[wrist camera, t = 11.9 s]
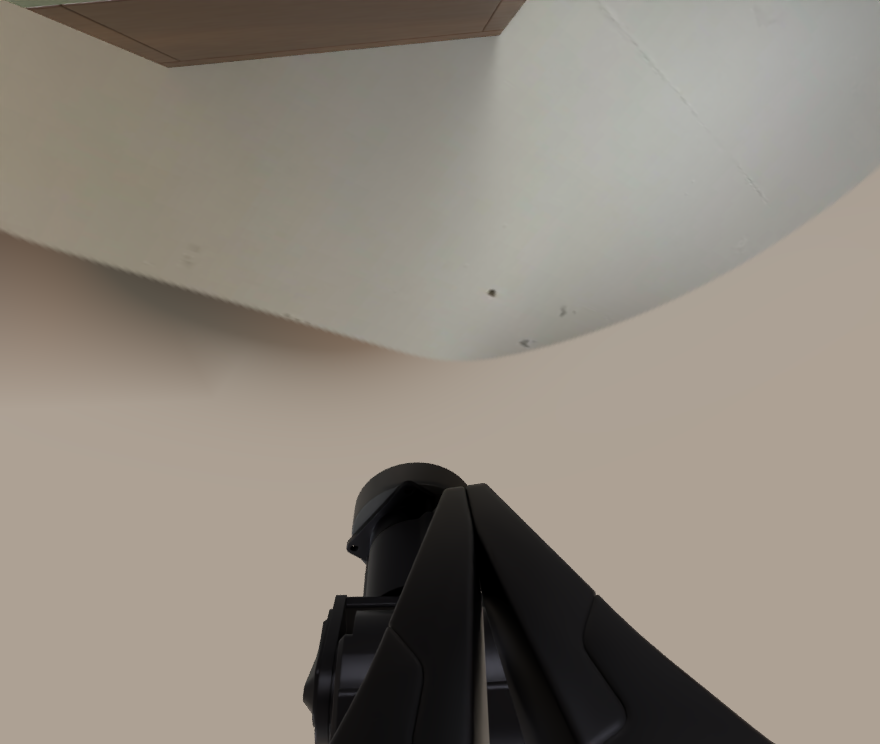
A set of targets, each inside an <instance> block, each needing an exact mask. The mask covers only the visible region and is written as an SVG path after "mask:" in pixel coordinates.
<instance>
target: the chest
mask: <svg viewBox="0 0 880 744" xmlns="http://www.w3.org/2000/svg"><path fill="white" fill-rule="evenodd" d="M525 1H526V0H101V1H91V2H80V3H69V4H58V5H48V6H37V7H26V8H27V9H28V10H30V11H33V12H35V13H38V14H40V15H42V16H45V17H47V18H50V19H52V20H55V21H57V22H59V23H62V24H64V25H67V26H69V27H71V28H74V29H76V30H79V31H81V32H83V33H86V34H88V35H91V36H93V37H96V38H98V39H100V40H103V41H105V42H108V43H110V44H112V45H115V46H117V47H120V48H122V49H125V50H127V51H129V52H132V53H134V54H137V55H139V56H141V57H144V58H146V59H149V60H151V61H154V62H156V63H158V64H161V65H163V66H165V67H168V68H170V67H180V66H190V65H201V64H211V63H221V62H231V61H241V60H252V59H262V58H272V57H282V56H292V55H303V54H313V53H323V52H333V51H343V50H354V49H364V48H374V47H384V46H394V45H405V44H415V43H425V42H435V41H446V40H456V39H466V38H476V37H486V36H497V35H500V34H501V33H502V31H503V30H504V29H505V27H506V26H507V25H508V23H509V22H510V21H511V20H512V18H513V17H514V16H515V14H516V13H517V12H518V10H519V9H520V8H521V6H522V5H523V4H524V3H525Z"/></svg>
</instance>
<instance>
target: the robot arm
mask: <svg viewBox="0 0 880 744" xmlns="http://www.w3.org/2000/svg"><path fill="white" fill-rule="evenodd" d="M406 488H411V490H406ZM353 545H356V546H355V547H354V546H353ZM346 549H347V551H348V552H349V553H350V554H352V555H354V556H356V557H358V558H360V559H362V560H364V561H366V571H365V583H364V595H363V597H347V595H336V597H335V602H334V606H333V609H330V610H329V614H328V618H327V620H326V621H324V622H323V628H322V634H321V640H320V645H319V650H318V654H317V657H316V660H315V662H314V664H313V667H312V669H311V671H310V674H309V677H308V679H307V681H306V683H305V686H304V693H303V702H304V703H305V705H306V706H307V707H308V709H309V710H310V711H311V713H312V720H313V726H314V727H315V744H775V743H773V742H771V741H770V740H769V739H767V738H766V737H765V736H763V735H762V734H761V733H760V732H758V731H757V730H755V729H754V728H753V727H752V726H751V725H749V724H748V723H747V722H746V721H744V720H743V719H742V718H741V717H739V716H738V715H737V714H736V713H735V712H733V711H732V710H731V709H730V708H729V707H727V706H726V705H725V704H724V703H722V702H721V701H720V700H719V699H717V698H716V697H715V696H714V695H712V694H711V693H710V692H709V691H708V690H706V689H705V688H704V687H703V686H701V685H700V684H699V683H698V682H696V681H695V680H694V679H693V678H691V677H690V676H689V675H688V674H687V673H685V672H684V671H683V670H682V669H680V668H679V667H678V666H677V665H675V664H674V663H673V662H672V661H670V660H669V659H668V658H667V657H666V656H665V655H663V654H662V653H661V652H660V651H659V650H657V649H656V648H655V647H654V646H652V645H651V644H650V643H649V642H648V641H647V640H646V639H645V638H643V637H642V636H641V635H640V634H639V633H638V632H636V631H635V630H634V629H633V628H632V627H631V626H630V625H629V624H628V623H627V622H626V621H625V620H624V619H623V618H621V616H619V615H618V614H617V613H616V612H615V611H614V610H613V609H612V608H611V607H610V606H609V605H608V604H607V603H606V602H605V601H604V600H603V599H602V598H601V597H600V596H599V595H596V593H595V591H594V590H593V589H592V588H591V587H590V586H589V585H588V584H587V583H586V582H585V581H584V580H583V579H582V578H581V577H580V576H579V575H578V574H577V573H576V572H575V571H574V570H573V569H571V567H570V566H569V565H568V564H567V563H566V562H565V561H564V560H563V559H561V557H559V555H557V554H556V552H555V551H553V550H552V549H551V548H550V547H549V546H548V545H547V544H546V543H545V542H544V541H543V540H542V539H541V538H540V537H539V536H538V535H537V534H536V533H535V532H534V531H533V530H532V529H531V528H530V527H529V526H528V525H527V524H526V523H525V522H524V521H523V520H522V519H521V518H520V517H519V516H518V515H517V514H516V513H515V512H514V511H513V510H512V509H511V508H510V507H509V506H508V505H507V504H506V503H505V502H504V501H503V500H502V499H501V498H500V497H499V496H498V495H497V494H496V493H495V492H494V491H493V490H492V489H491V488H490V487H489V486H488V485H487V484H485V483H481V484H474V485H468V486H467V487H466V490H465V488H464V487H462V486H460V487H453V488H447V489H445V490H444V492H443V494H442V496H440V495H435V494H434V493H432V492H430V491H429V490H427V489H426V488H424V487H422V486H421V485H419V484H417V483H416V482H414V481H411V480H406V481H404V482H402V483H401V484H400V485H399V486H398V488H397V489H396V490H395V491H394V492H393V493H392V494H391V495H390V496H389V497H388V498H387V499H386V500H385V501H384V502H383V504H382V505H381V506H380V507H379V508H378V509H377V510H376V511H375V512H374V513H373V514H372V515H371V516H370V517H369V519H368V520H367V521H366V522H365V523H364V524H363V525H362V526H361V527H360V528H359V529H358V530H357V531H356V532H355V534H354V535H353V536H352V537H351V538H350V539H349V540H348V542H347V547H346ZM481 593H482V594H481Z"/></svg>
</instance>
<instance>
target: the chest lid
mask: <svg viewBox="0 0 880 744" xmlns="http://www.w3.org/2000/svg"><path fill="white" fill-rule="evenodd" d="M6 1H8V2H10V3H13V4H15V5H18V6H20V7H23V8H26V7H37V6H48V5H58V4H69V3H80V2H91V1H101V0H6Z"/></svg>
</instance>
